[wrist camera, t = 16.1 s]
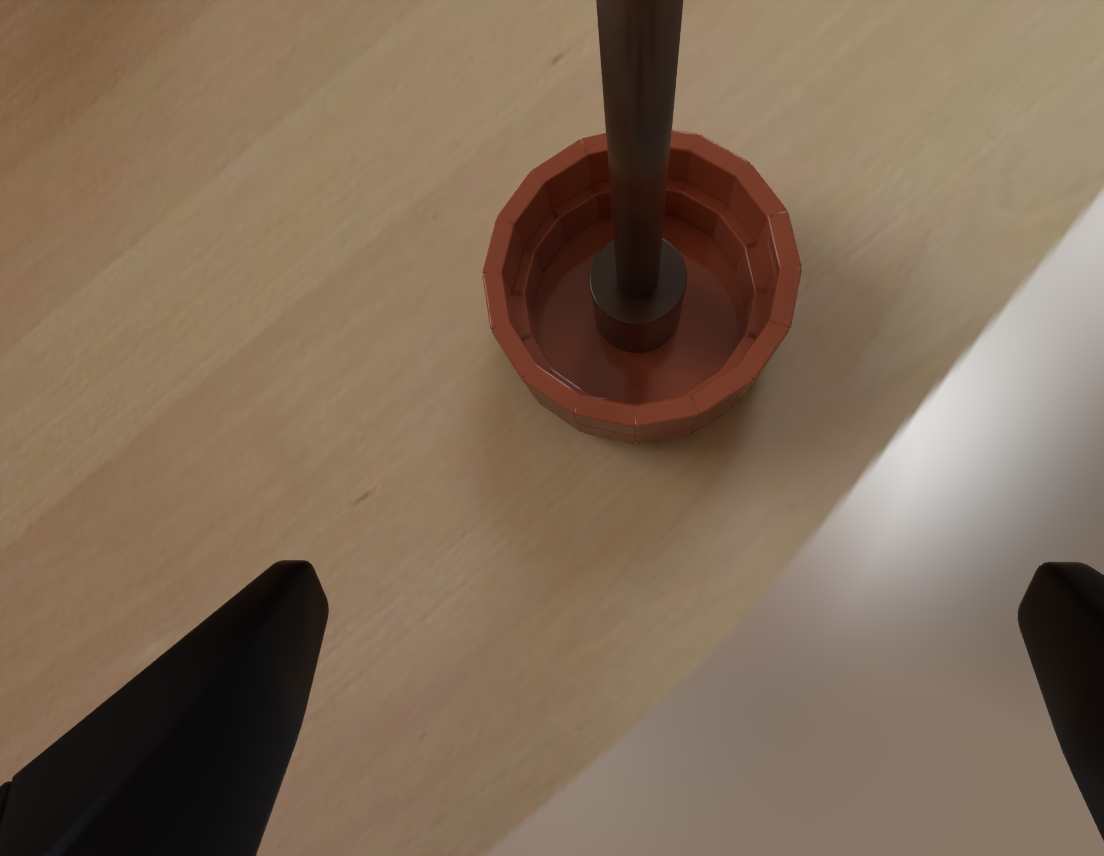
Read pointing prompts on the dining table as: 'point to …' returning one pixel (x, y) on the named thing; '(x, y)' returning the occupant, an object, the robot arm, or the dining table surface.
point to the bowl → (708, 306)
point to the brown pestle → (638, 174)
